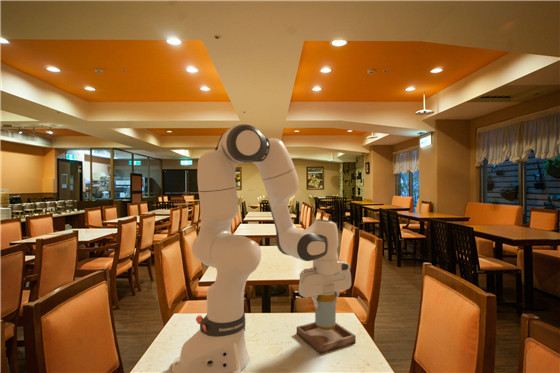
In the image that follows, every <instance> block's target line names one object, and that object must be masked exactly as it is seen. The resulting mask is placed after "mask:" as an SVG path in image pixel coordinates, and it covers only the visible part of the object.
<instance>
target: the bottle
mask: <svg viewBox="0 0 560 373" xmlns="http://www.w3.org/2000/svg"><path fill="white" fill-rule="evenodd" d="M316 299H317V301H318V303H319V307H318V308H315V307H314V309H315V312H314V315H315V316H314V318H315V319H314V320H315V321H314V322H315V324H316V326H317V327H318V328H319V329H322V330H331V329H333V328H334V327H335V325H336V323H337V322H336V318H337V317H336V316H337V314H336V313H337V312H336V309H337V308H336V304H337V303H336V297H335V294H334V284H333V285H328V286H323V294H322V295H318V298H316Z"/></svg>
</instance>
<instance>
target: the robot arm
mask: <svg viewBox="0 0 560 373" xmlns="http://www.w3.org/2000/svg"><path fill="white" fill-rule="evenodd" d="M244 163H245V164H246V163H253V164H254V165H255V166H256V168H257V169H258V171H259V174H260V177H261V178H260V179H261V180H262V182H263V186H264V189H265V193H266V195H267V196H266V197H267V203H268V205H269V209H270V213H271V217H272V219H273V223H274V228H275V232H276V235H275V236H276V237H275V241H276V248H277V249H278V251H279V252H280V253H282V254H283V255H286V256H289V257H293V258H296V259H298V260H300V261H301V260H302V261H305V262H312V267H310V268H304V269H303V270H302V271H301V272H299V283H298V294H299V295H300V296H301V297H303V298H304V299H307V298H311V300H312V301H313V307H314V309H315V308H318V307H319V303H318V301H317V299H316V298H318V295H322V294H323V286H328V285H333V284H334V294H335V297H336V304H337V302H338V297H339V296H340V294H341V291H344V290H345V291H346V290H349V289H351V286H352V273H351V271H350V269H351V264H350V263H348V262H346V261H343V260H340V259H339V254H338V247H339V231H338V226H337V224H336V222H334V221H332V220H326V219H322V218H321V219H320V218H319V219H318V218H317V219H315V220H314V222H313V223H312V224H311V225H310V226H308V227H307V228H305V229H300V228H297V227H296V226H295V225H294V223H293V221H292V216H291V212H290V209H289V205H288V204H289V203H288V202H289V200H290V199H291V198H292V197H293V196H294V195H295V194H296V193H297V191H298V189H299V187H300V186H299V185H300V184H299V183H300V180H299V176H298V173H297V170H296V167H295V164H294V162H293V159H292V156H291V155H290V153H289V151H288V149H287V147H286V145H285V144H284V142H283V141H282V140H281V139H280V138H274V137H273V138H267V137H266V136H265V135H264V134H263V133H262V132H261V131H260V130H259V129H258V128H256V127H255V126H253V125H251V124H243V123H241V124H238V125H233V126H231V127H229V128H228V129H226V131H224V132H223V133H222V134H221V136H220V137H219V140H218V142H217V145H216V147H215V149H214V150H210V151H207V152H205V153H203V154H201V155H200V157H199V158H198V161H197V171H196V172H197V187H198V188H197V190H198V196H199V208H200V225H199V231H198V234H197V236H196V237H195V239H194V240H193V242H192V247H191V248H192V250H191V251H192V253H193V254H192V255H193V256H194V258H195V259H196V260H198V261H199V262H200V263H202V264H203V265H205V266H208V267H211V268H214V269H216V276H215V277H216V278H215V281H214V283H212V284H211V285H210V286H209V287H208V289H207V292H206V315H205V316H202V315H201V314H200V315H196V317H195V321H196V322H197V324H198V325H199V329H198V330H197V331H196V332H195V333H194V334H192V336H191V337H190V338H188V339H187V340H186V341H185V342H184V343H183V345H182V347H181V350H180V355H179V356H178V357H176V358H175V359H174V360H173V361H172V365H171V373H242V370H243V369H244V368H246V367H247V365H248V364H249V363H250V362H249V361H250V356H249V353H248V350H247V345H246V338H245V337H246V336H245V335H246V334H245V331H246V312H244V308H245V307H244V303H245V289H246V288H245V287H246V284H247V281H248V279H249V277H250V275H251V274H252V273H254V272H255V271H256V270H257V269H258V267H259V265H260V263H261V260H262V250H261V247H260V245H259V243H258V242H256V241H255V240H253V239H251V238H249V237H247V236H244V235H241V234H240V235H239V234H233V233H232V222H233V220H234V219H235V218H236V217H237V216H238V214H239V211H240V210H239V209H240V208H239V199H238V191H237V190H238V189H237V183H236V178H235V177H236V169H237V166H238V165H239V164H244Z"/></svg>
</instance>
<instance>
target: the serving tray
mask: <svg viewBox="0 0 560 373" xmlns="http://www.w3.org/2000/svg"><path fill="white" fill-rule="evenodd" d="M296 335H297V336H299V337H300V338H301V340H303V341H304V342H306V343H307V345H309V346H310V347H311V348H312V349H313V350H315V351H316V352H317V353H318V354H319V355H321V354H325V353H329V352H331V351H334V350H338V349H341V348H345V347H347V346H350V345H354V344H356V341H357V340H356V335H355V334H354V333H353V332H351V331H349V330H348V329H347V328H345V327H344V326H341V325H340V324H338V323H337V322H336V325H335V327H334V328H333V329H331V330H322V329H319V328H318V327H317V326H316V324H315V321H314V322H311V323H307V324H302V325H299V326H296Z"/></svg>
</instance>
